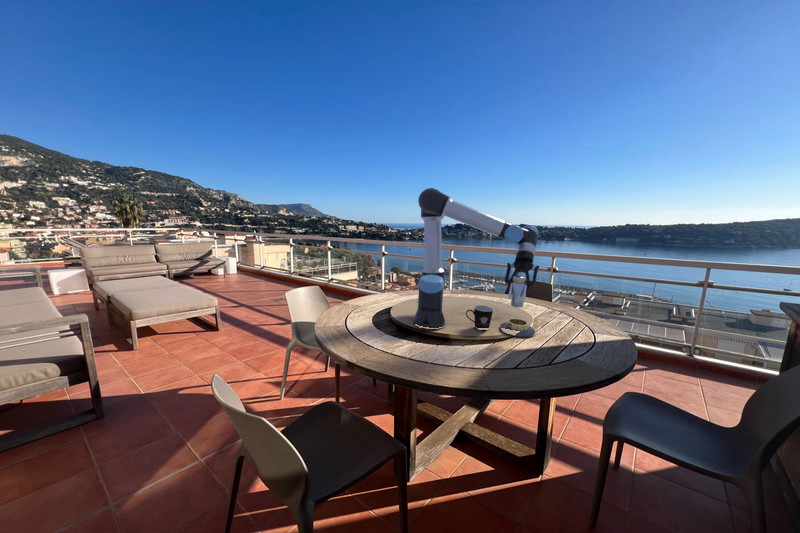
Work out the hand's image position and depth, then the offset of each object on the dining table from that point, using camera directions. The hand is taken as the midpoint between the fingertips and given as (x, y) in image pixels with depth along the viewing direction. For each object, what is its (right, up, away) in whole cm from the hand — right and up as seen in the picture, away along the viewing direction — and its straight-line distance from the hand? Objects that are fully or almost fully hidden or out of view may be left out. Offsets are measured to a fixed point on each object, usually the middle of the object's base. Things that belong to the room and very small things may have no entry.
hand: (516, 298), depth 123 cm
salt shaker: (+2, -4, +4) cm, 6 cm away
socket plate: (+6, -17, +14) cm, 22 cm away
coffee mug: (-12, -16, +16) cm, 26 cm away
